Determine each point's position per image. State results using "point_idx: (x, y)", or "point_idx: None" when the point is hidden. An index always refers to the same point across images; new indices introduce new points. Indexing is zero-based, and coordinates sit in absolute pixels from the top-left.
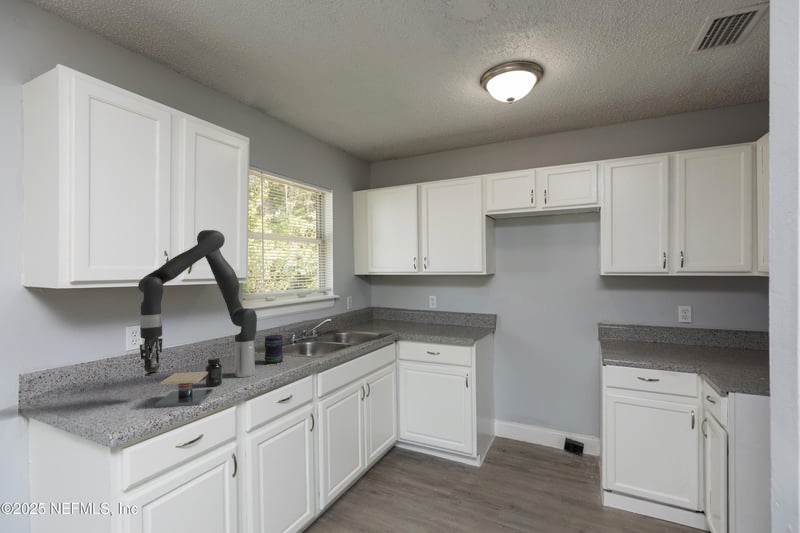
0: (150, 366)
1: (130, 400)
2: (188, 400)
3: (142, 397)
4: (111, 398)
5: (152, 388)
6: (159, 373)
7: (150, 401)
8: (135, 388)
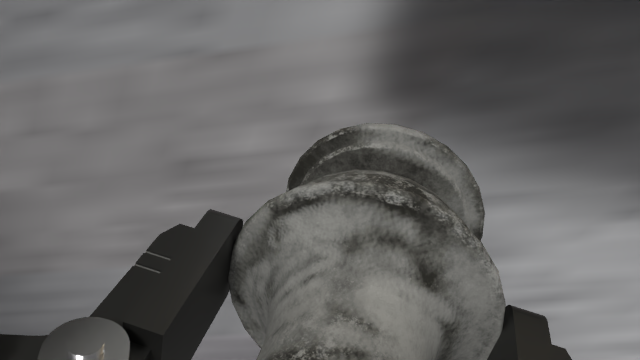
0: (547, 338)
1: None
2: None
3: None
4: None
5: (93, 127)
6: (394, 124)
7: (501, 94)
8: (73, 234)
